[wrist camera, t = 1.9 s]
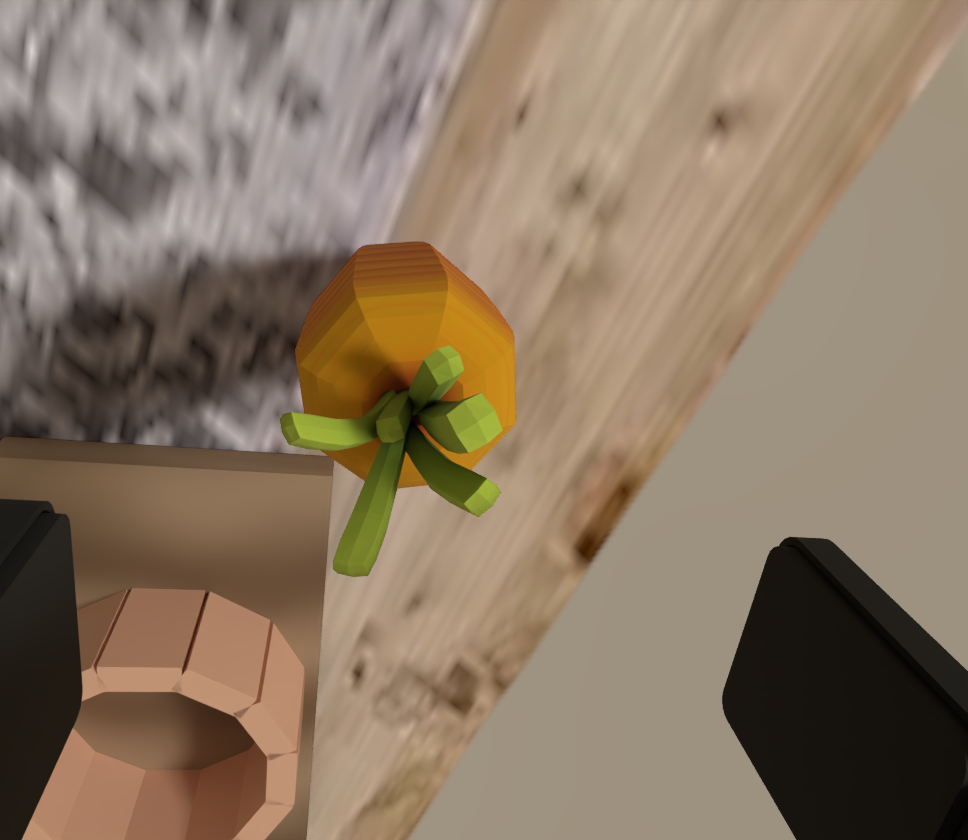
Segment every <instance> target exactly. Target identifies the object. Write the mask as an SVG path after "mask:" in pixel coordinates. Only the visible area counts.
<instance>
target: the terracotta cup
mask: <svg viewBox="0 0 968 840" xmlns="http://www.w3.org/2000/svg"><path fill="white" fill-rule="evenodd" d="M77 619H78V632H79V645H80V658H81V671H82V685H83V693H82V701H84V700H86V699H88V698H91V697H93V696H95V695H98V694H100V693H103V692H177V693H180V694H182V695H184V696H187V697H189V698H192V699H194V700H196V701H199V702H201V703H204V704H206V705H208V706H211V707H213V708H216V709H218V710H220V711H223V712H225V713H227V714H230V715H232V716H235V717H236V718H237V719H238V720H239V722H240V723H241V724H242V726H243V727H244V728H245V729H246V731H247V732H248V733H249V735H250V736H251V737H252V738H253V740H254V741H255V743H254V744H253V745H252V747H251V748H250V749H249V750H247V751H245V752H242V753H240V754H238V755H235V756H233V757H230V758H228V759H226V760H223V761H221V762H218V763H216V764H213V765H211V766H209V767H206V768H204V769H201V770H143V769H141V768H138V767H135V766H133V765H130V764H127V763H125V762H122V761H119V760H117V759H114V758H111V757H109V756H106V755H103V754H100V753H98V752H95V751H94V750H93V749H92V748H91V747H90V746H89V745H88V743H87V742H86V741H85V740H84V739H83V738H82V737H81V736H80V735H79V734H78V733H77V732H76V731H75V730H74V729H72V731H71V733H70V735H69V738H68V740H67V742H66V744H65V746H64V749H63V751H62V753H61V755H60V757H59V759H58V762H57V764H56V766H55V768H54V770H53V773H52V775H51V777H50V779H49V781H48V783H47V786H46V788H45V790H44V792H43V794H42V797H41V799H40V801H39V803H38V805H37V807H36V810H35V812H34V814H33V816H32V818H31V821H30V823H29V825H28V827H27V829H26V831H25V834H24V836H23V838H22V840H265V839H266V838H267V837H268V835H269V834H270V833H271V832H272V831H273V830H274V829H275V828H276V826H277V825H278V824H279V823H280V822H281V821H282V820H283V818H284V817H285V816H286V815H287V814H288V813H289V812H290V811H291V809H292V808H293V805H294V803H295V792H296V782H297V771H298V761H299V750H300V740H301V729H302V718H303V703H304V687H305V671H304V666H303V665H302V663H301V662H300V660H299V659H298V658H297V656H296V655H295V653H294V652H293V650H292V649H291V647H290V646H289V645H288V643H287V642H286V640H285V639H284V637H283V636H282V634H281V633H280V632H279V630H278V629H277V627H276V626H275V624H274V623H272V624H270V620H269V619H267V618H265V617H263V616H261V615H258V614H256V613H254V612H252V611H250V610H248V609H246V608H244V607H242V606H240V605H238V604H236V603H233V602H231V601H229V600H227V599H225V598H223V597H221V596H219V595H217V594H215V593H213V592H209V593H208V595H207V596H206V597H205V590H181V589H145V588H132V589H131V592H129V591H128V589H126V590H124V591H121V592H119V593H117V594H114V595H112V596H110V597H107V598H105V599H102V600H100V601H98V602H95V603H93V604H91V605H88V606H86V607H84V608H81V609H79V610H77Z"/></svg>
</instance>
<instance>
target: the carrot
mask: <svg viewBox="0 0 968 840" xmlns="http://www.w3.org/2000/svg"><path fill="white" fill-rule="evenodd" d="M295 354H296V362H297V369H298V375H299V382H300V388H301V394H302V401H303V407H304V414H302V413H294V412H290V413H286V414H283V415H282V417H281V418H280V423H281V429H282V433H283V435H284V437H285V439H286V440H287V442H288V444H289V445H293V446H297V447H301V448H305V449H314V450H321V451H322V452H323V453H325V454H326V455H328V456H329V457H331V458H332V459H334V460H335V461H337V462H338V463H339V464H341V465H342V466H344V467H345V468H347V469H348V470H350V471H351V472H353V473H354V474H355V475H357V476H358V477H360V478H361V479H363V480H364V481H365V483H364V486H363V488H362V491H361V493H360V495H359V498H358V500H357V503H356V505H355V507H354V510H353V512H352V515H351V517H350V519H349V521H348V524H347V526H346V528H345V531H344V533H343V535H342V537H341V540H340V542H339V545H338V548H337V551H336V554H335V557H334V560H333V569H334V570H335V571H336V572H337V573H339V574H343V575H347V576H351V577H357V576H368V575H369V573H370V571H371V569H372V567H373V565H374V563H375V561H376V559H377V556H378V554H379V551H380V548H381V545H382V542H383V540H384V537H385V534H386V530H387V526H388V522H389V518H390V514H391V511H392V507H393V503H394V499H395V495H396V491H397V488H406V487H415V486H425V485H429V487H430V488H431V489H432V490H433V491H435V492H436V493H437V494H439V495H440V496H442V497H443V498H444V499H446V500H447V501H449V502H450V503H452V504H454V505H455V506H457V507H459V508H461V509H463V510H465V511H467V512H469V513H471V514H474V515H476V516H478V517H479V516H480V515H482V514H483V513H484V512H485V511H487V510H488V509H489V508H490V507H492V505H493V504H494V502H495V501H496V499H497V498H498V496H499V494H500V493H501V492H500V490H499V488H498V486H497V485H496V484H494V483H493V482H491V481H490V480H488V479H487V478H485V477H483V476H481V475H479V474H477V473H475V472H473V471H471V470H472V469H473V468H474V466H475V465H476V464H477V463H478V462H479V461H480V460H481V459H482V458H483V457H484V456H485V455H486V454H487V453H488V452H489V451H490V450H491V449H492V448H493V447H494V446H495V445H496V444H497V443H498V441H499V440H500V439H501V438H502V437H503V436H504V435H505V434H506V433H507V432H508V431H509V430H510V429H511V428H512V427H513V426H514V425H515V422H516V382H515V343H514V334H513V331H512V329H511V328H510V326H509V325H508V323H507V322H506V320H505V319H504V318H503V316H502V315H501V313H500V312H499V310H498V309H497V307H496V306H495V305H494V304H493V303H492V301H491V300H490V299H489V298H488V297H487V295H486V294H485V293H484V292H483V290H482V289H481V288H479V287H478V286H477V285H476V284H475V283H474V282H473V281H471V280H470V279H469V278H468V277H467V276H466V275H465V274H463V273H462V272H461V271H460V270H459V269H458V268H457V267H455V266H454V265H453V264H452V263H451V262H450V261H448V260H447V259H446V258H445V257H444V256H443V255H442V254H440V253H439V252H438V251H437V250H436V249H435V248H434V247H432V246H431V245H430V244H428V243H425V242H403V243H389V244H375V245H365V246H362V247H361V248H359V249H358V250H357V251H356V252H355V254H354V255H353V256H352V257H351V258H350V260H349V261H348V262H347V263H346V264H345V266H344V267H343V268H342V269H341V270H340V272H339V273H338V274H337V275H336V276H335V278H334V279H333V280H332V281H331V282H330V284H329V285H328V286H327V287H326V288H325V289H324V291H323V292H322V293H321V294H320V295H319V297H318V298H317V299H316V300H315V301H314V303H313V305H312V307H311V309H310V311H309V314H308V316H307V318H306V320H305V322H304V325H303V328H302V331H301V334H300V337H299V340H298V343H297V346H296V349H295Z"/></svg>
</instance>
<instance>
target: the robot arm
mask: <svg viewBox="0 0 968 840" xmlns="http://www.w3.org/2000/svg"><path fill="white" fill-rule="evenodd" d="M82 693H83V685H82V671H81V658H80V645H79V632H78V619H77V605H76V592H75V579H74V566H73V552H72V539H71V526H70V520H69V518H68V516H67V515H66V514H59V513H55V511H54V508H53V506H52V504H51V503H50V502H49V501H37V500H16V499H0V840H22V838H23V836H24V834H25V831H26V829H27V827H28V825H29V823H30V821H31V818H32V816H33V814H34V812H35V810H36V807H37V805H38V803H39V801H40V799H41V797H42V794H43V792H44V790H45V788H46V786H47V783H48V781H49V779H50V777H51V775H52V773H53V770H54V768H55V766H56V764H57V762H58V759H59V757H60V755H61V753H62V751H63V749H64V746H65V744H66V742H67V740H68V738H69V735H70V733H71V731H72V729H73V727H74V725H75V722H76V720H77V717H78V715H79V711H80V707H81V702H82ZM722 704H723V710H724V714H725V716H726V719H727V721H728V722H729V724H730V726H731V728H732V729H733V731H734V732H735V734H736V736H737V738H738V740H739V741H740V743H741V745H742V747H743V748H744V750H745V752H746V754H747V755H748V757H749V758H750V760H751V762H752V764H753V765H754V767H755V769H756V771H757V772H758V774H759V776H760V778H761V779H762V781H763V783H764V785H765V786H766V788H767V790H768V791H769V793H770V795H771V797H772V798H773V800H774V802H775V803H776V805H777V807H778V809H779V810H780V812H781V814H782V816H783V817H784V819H785V821H786V823H787V824H788V826H789V828H790V829H791V831H792V833H793V835H794V836H795V838H796V840H968V671H967V670H966V669H965V668H964V667H963V666H962V665H961V664H960V663H959V662H958V661H956V660H955V659H954V658H953V657H952V656H951V655H950V654H949V653H948V652H947V651H946V650H945V649H944V648H943V647H942V646H941V645H940V644H939V643H938V642H937V641H936V640H935V639H933V637H931V636H930V635H929V634H928V633H927V632H926V631H925V630H924V629H923V628H922V627H921V626H920V625H919V624H918V623H917V622H916V621H915V620H914V619H913V618H912V617H910V616H909V614H907V613H906V612H905V611H904V610H903V609H902V608H901V607H900V606H899V605H898V604H897V603H896V602H895V601H894V600H893V599H892V598H891V597H890V596H889V595H887V593H886V592H884V591H883V590H882V589H881V588H880V587H879V586H878V585H877V584H876V583H875V582H874V581H873V580H872V579H871V578H870V577H869V576H868V575H867V574H866V573H865V572H864V571H863V570H861V569H860V568H859V567H858V566H857V565H856V564H855V563H854V562H853V561H852V560H851V559H850V558H849V557H848V556H847V555H846V554H845V553H844V552H843V551H841V549H839V547H837V546H836V545H835V544H834V543H833V542H832V541H830V540H828V539H822V538H801V537H800V538H799V537H789V538H786V539H784V540H783V541H782V542H781V543H780V545H779V546H777V547H774V548H773V549H772V550H771V551H770V553H769V555H768V557H767V560H766V563H765V566H764V569H763V572H762V575H761V578H760V581H759V584H758V588H757V590H756V594H755V596H754V600H753V602H752V606H751V609H750V612H749V615H748V618H747V621H746V624H745V627H744V630H743V633H742V636H741V639H740V642H739V645H738V648H737V651H736V654H735V657H734V660H733V663H732V666H731V669H730V672H729V675H728V678H727V681H726V684H725V687H724V691H723V696H722Z"/></svg>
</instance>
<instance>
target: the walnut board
mask: <svg viewBox="0 0 968 840" xmlns="http://www.w3.org/2000/svg"><path fill="white" fill-rule="evenodd" d="M333 466H334V459H332V458H331V457H329V456H313V455H297V454H281V453H265V452H249V451H232V450H216V449H200V448H184V447H168V446H151V445H135V444H119V443H103V442H87V441H71V440H54V439H38V438H22V437H6V436H5V437H4V438H3V439H2V440H1V441H0V499H16V500H37V501H49V502H50V503H51V504H52V506H53V508H54V511H55V513H59V514H66V515H67V516H68V518H69V520H70V526H71V539H72V552H73V566H74V579H75V592H76V605H77V610H79V609H81V608H84V607H86V606H88V605H91V604H93V603H95V602H98V601H100V600H102V599H105V598H107V597H110V596H112V595H114V594H117V593H119V592H121V591H124V590H126V589H128V591H129V592H131V589H132V588H145V589H181V590H205V597H206V596H207V595H208V593H209V592H213V593H215V594H217V595H219V596H221V597H223V598H225V599H227V600H229V601H231V602H233V603H236V604H238V605H240V606H242V607H244V608H246V609H248V610H250V611H252V612H254V613H256V614H258V615H261V616H263V617H265V618H267V619H269V620H270V624H272V623H274V624H275V626H276V627H277V629H278V630H279V632H280V633H281V634H282V636H283V637H284V639H285V640H286V642H287V643H288V645H289V646H290V647H291V649H292V650H293V652H294V653H295V655H296V656H297V658H298V659H299V660H300V662H301V663H302V665H303V666H304V671H305V687H304V703H303V718H302V729H301V740H300V750H299V761H298V771H297V782H296V792H295V803H294V805H293V808H292V809H291V811H290V812H289V813H288V814H287V815H286V816H285V817H284V818H283V820H282V821H281V822H280V823H279V824H278V825H277V826H276V828H275V829H274V830H273V831H272V832H271V833H270V834H269V835H268V837H267V838H266V839H265V840H306V837H307V823H308V810H309V796H310V782H311V768H312V755H313V741H314V727H315V713H316V700H317V686H318V672H319V658H320V645H321V631H322V617H323V603H324V590H325V576H326V562H327V548H328V535H329V521H330V507H331V493H332V480H333ZM73 729H74V730H75V731H76V732H77V733H78V734H79V735H80V736H81V737H82V738H83V739H84V740H85V741H86V742H87V743H88V745H89V746H90V747H91V748H92V749H93V750H94V751H95V752H98V753H100V754H103V755H106V756H109V757H111V758H114V759H117V760H119V761H122V762H125V763H127V764H130V765H133V766H135V767H138V768H141V769H143V770H201V769H204V768H206V767H209V766H211V765H213V764H216V763H218V762H221V761H223V760H226V759H228V758H230V757H233V756H235V755H238V754H240V753H242V752H245V751H247V750H249V749H250V748H251V747H252V745H253V744H254V743H255V741H254V740H253V738H252V737H251V736H250V735H249V733H248V732H247V731H246V729H245V728H244V727H243V726H242V724H241V723H240V722H239V720H238V719H237V718H236V717H235V716H232V715H230V714H227V713H225V712H223V711H220V710H218V709H216V708H213V707H211V706H208V705H206V704H204V703H201V702H199V701H196V700H194V699H192V698H189V697H187V696H184V695H182V694H180V693H177V692H103V693H100V694H98V695H95V696H93V697H91V698H88V699H86V700H84V701H82V702H81V707H80V711H79V715H78V717H77V720H76V722H75V725H74V727H73Z"/></svg>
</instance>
